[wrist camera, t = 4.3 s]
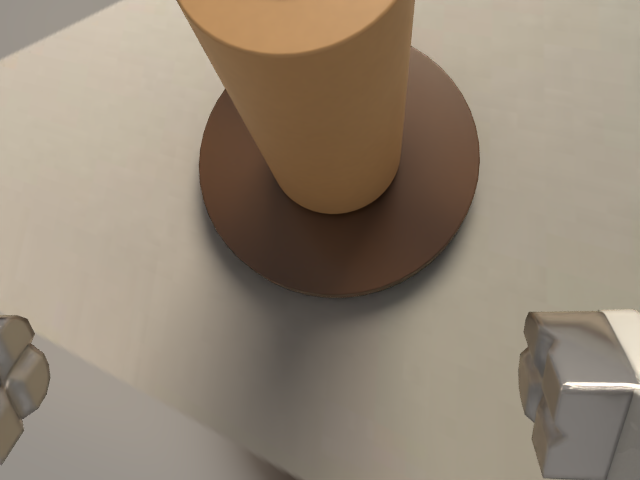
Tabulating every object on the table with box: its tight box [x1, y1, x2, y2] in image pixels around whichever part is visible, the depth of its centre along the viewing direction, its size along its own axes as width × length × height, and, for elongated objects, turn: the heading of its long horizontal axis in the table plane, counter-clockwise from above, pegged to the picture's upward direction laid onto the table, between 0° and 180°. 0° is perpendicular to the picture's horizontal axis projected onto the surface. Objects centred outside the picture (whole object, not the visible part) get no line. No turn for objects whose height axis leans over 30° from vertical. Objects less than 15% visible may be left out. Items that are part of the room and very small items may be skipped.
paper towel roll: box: [177, 0, 415, 214], centre depth 21 cm, size 6×7×14 cm
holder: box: [199, 46, 480, 298], centre depth 28 cm, size 14×14×2 cm
